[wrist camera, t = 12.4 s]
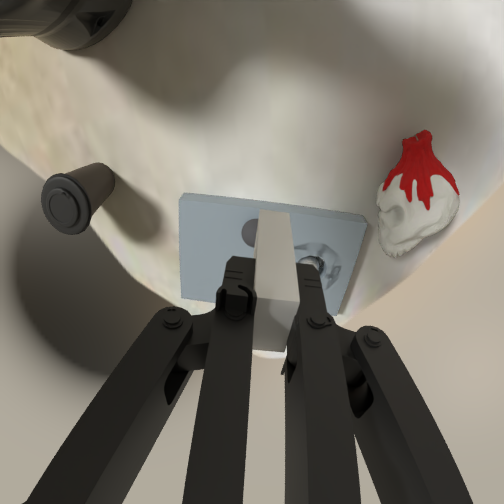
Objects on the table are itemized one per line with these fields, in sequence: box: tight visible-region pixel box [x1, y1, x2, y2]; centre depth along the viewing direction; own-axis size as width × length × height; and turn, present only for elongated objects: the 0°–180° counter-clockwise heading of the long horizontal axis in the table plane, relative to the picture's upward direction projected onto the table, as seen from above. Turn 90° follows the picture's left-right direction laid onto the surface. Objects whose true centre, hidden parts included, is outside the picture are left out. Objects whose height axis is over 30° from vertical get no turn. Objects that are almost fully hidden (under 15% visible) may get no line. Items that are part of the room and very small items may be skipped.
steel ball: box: [297, 256, 319, 271], centre depth 41 cm, size 4×4×4 cm
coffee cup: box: [41, 163, 115, 235], centre depth 34 cm, size 8×8×10 cm
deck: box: [179, 193, 367, 316], centre depth 42 cm, size 24×16×2 cm, turn 84°
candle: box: [376, 130, 459, 258], centre depth 32 cm, size 9×11×15 cm
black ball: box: [241, 219, 258, 248], centre depth 36 cm, size 4×4×4 cm
